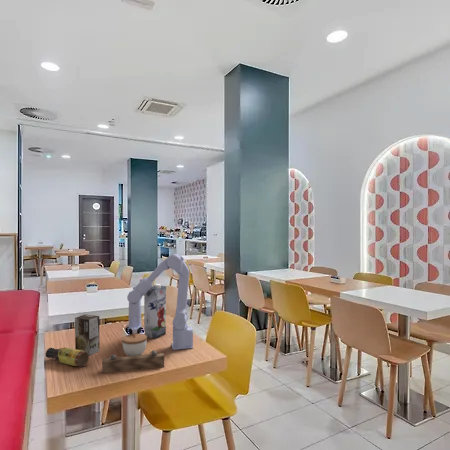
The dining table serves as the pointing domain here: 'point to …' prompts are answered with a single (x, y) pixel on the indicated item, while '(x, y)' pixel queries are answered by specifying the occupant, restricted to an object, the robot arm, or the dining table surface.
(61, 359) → the sauce bottle
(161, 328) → the juice carton
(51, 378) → the dining table surface
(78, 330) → the coffee box
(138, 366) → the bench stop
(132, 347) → the lidded jar
